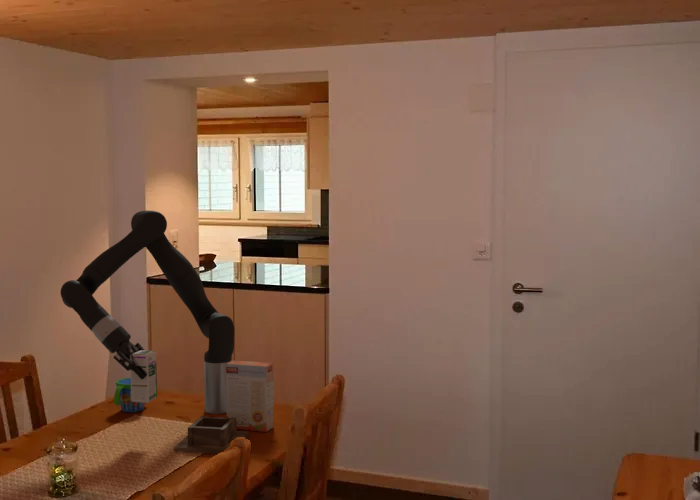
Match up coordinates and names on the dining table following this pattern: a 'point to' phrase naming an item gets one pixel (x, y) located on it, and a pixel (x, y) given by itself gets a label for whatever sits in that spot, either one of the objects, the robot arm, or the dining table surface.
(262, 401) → the cracker box
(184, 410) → the dining table surface
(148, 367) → the syrup box
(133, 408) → the snack cup
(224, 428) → the socket holder
